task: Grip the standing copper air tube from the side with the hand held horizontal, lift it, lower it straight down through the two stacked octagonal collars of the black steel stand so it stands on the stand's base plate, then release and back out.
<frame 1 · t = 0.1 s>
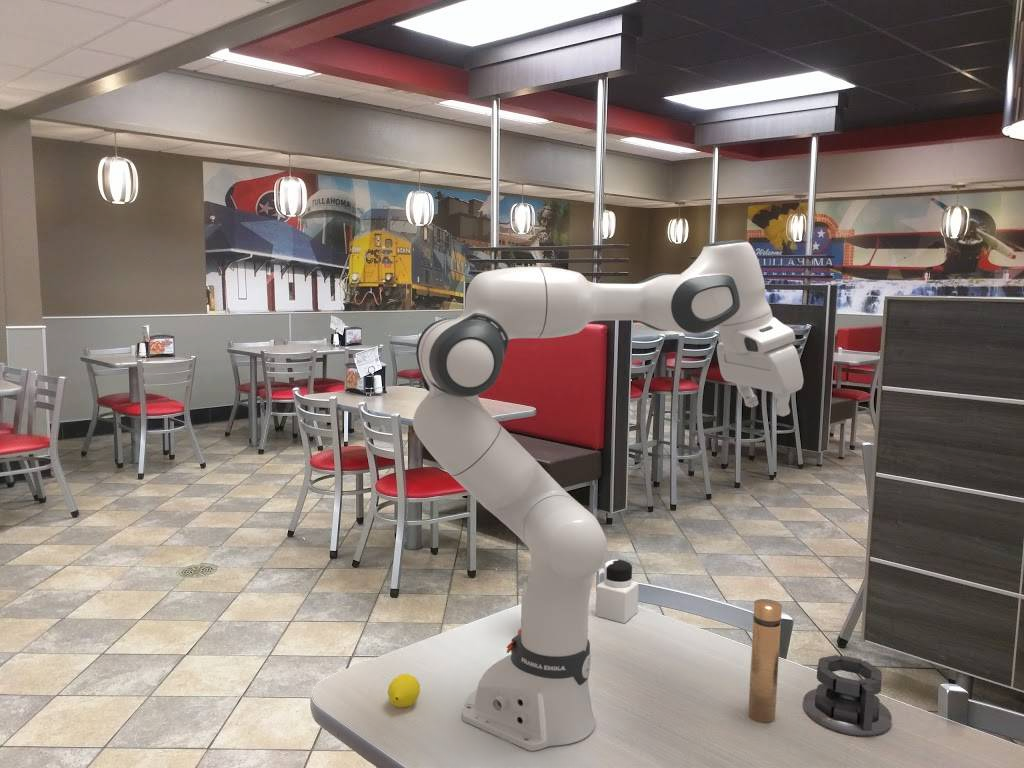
hand: (767, 410, 134), 52 cm above the table, tool tilted 20°, fingers open, 8 cm apart
paper tube: (546, 634, 165), on the table
air tube: (761, 715, 134), on the table
medicine bottle: (616, 615, 175), on the table
lemon: (404, 706, 136), on the table
collar stand: (846, 713, 135), on the table
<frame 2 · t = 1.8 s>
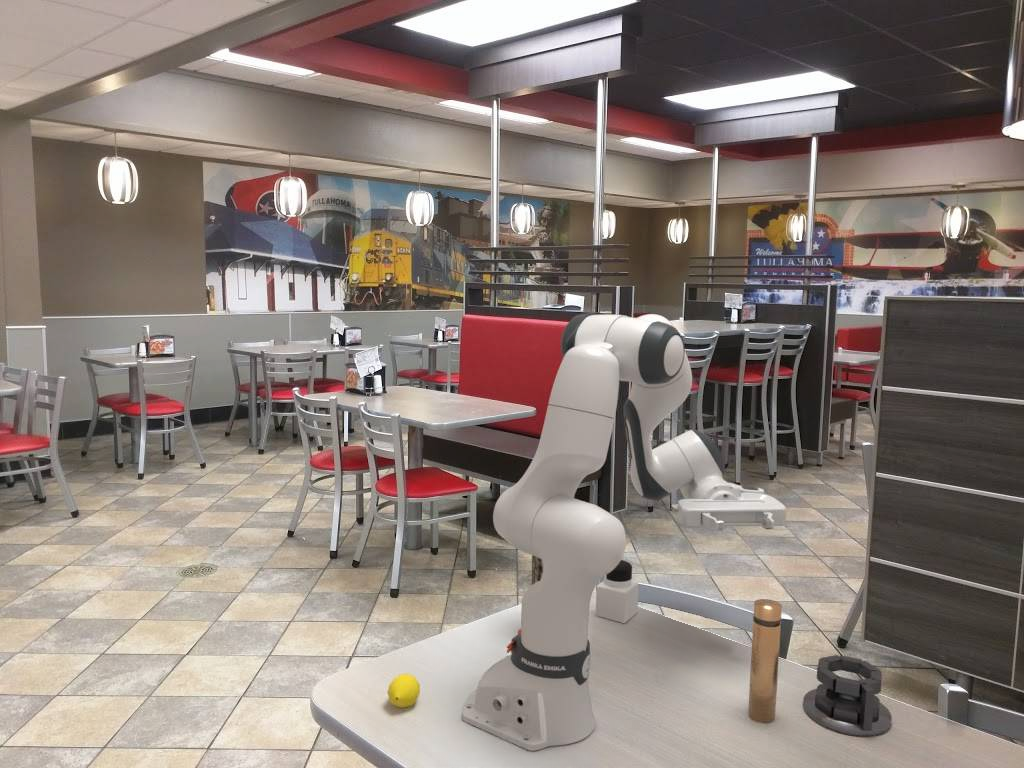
hand: (744, 525, 142), 30 cm above the table, tool horizontal, fingers open, 8 cm apart
nothing on the table moved.
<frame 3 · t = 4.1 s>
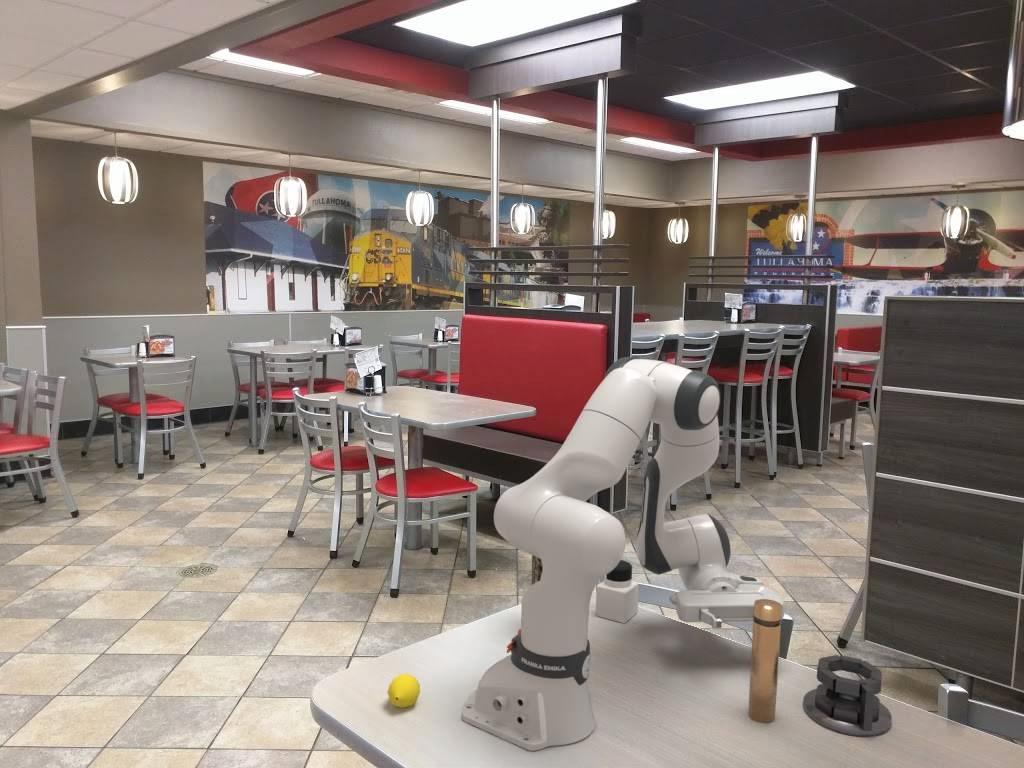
hand: (743, 624, 143), 12 cm above the table, tool horizontal, fingers open, 8 cm apart
nothing on the table moved.
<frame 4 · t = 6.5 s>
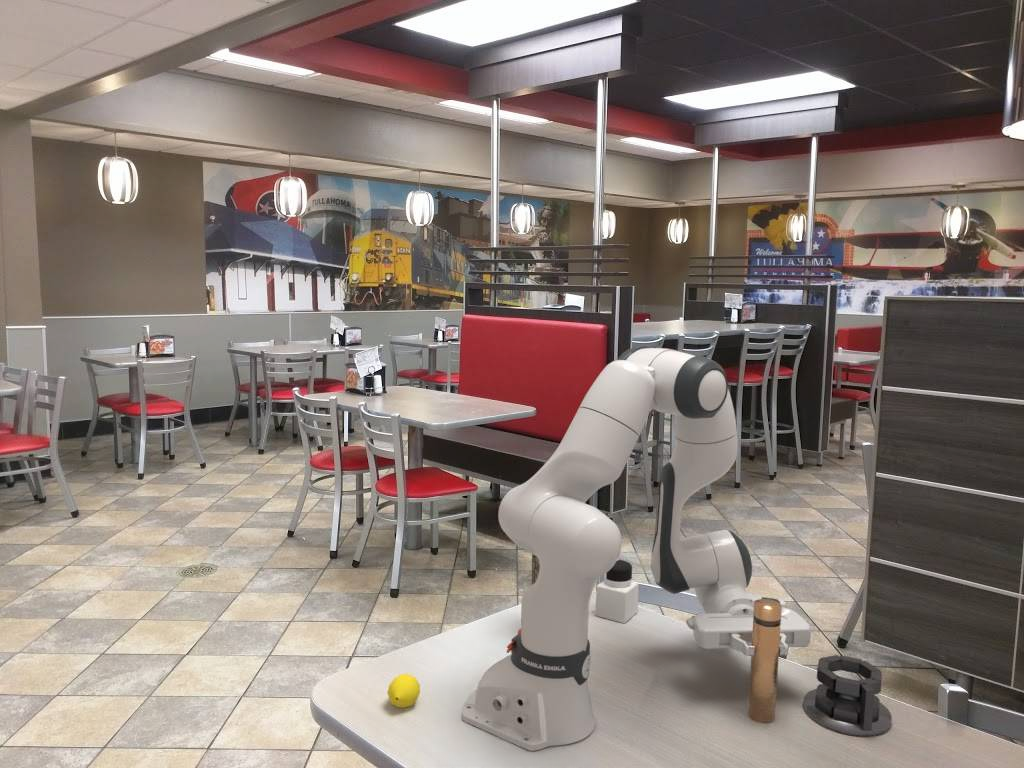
hand: (767, 651, 132), 12 cm above the table, tool horizontal, fingers closed on air tube, 4 cm apart
air tube: (761, 715, 134), on the table, touching gripper
everything else where it was.
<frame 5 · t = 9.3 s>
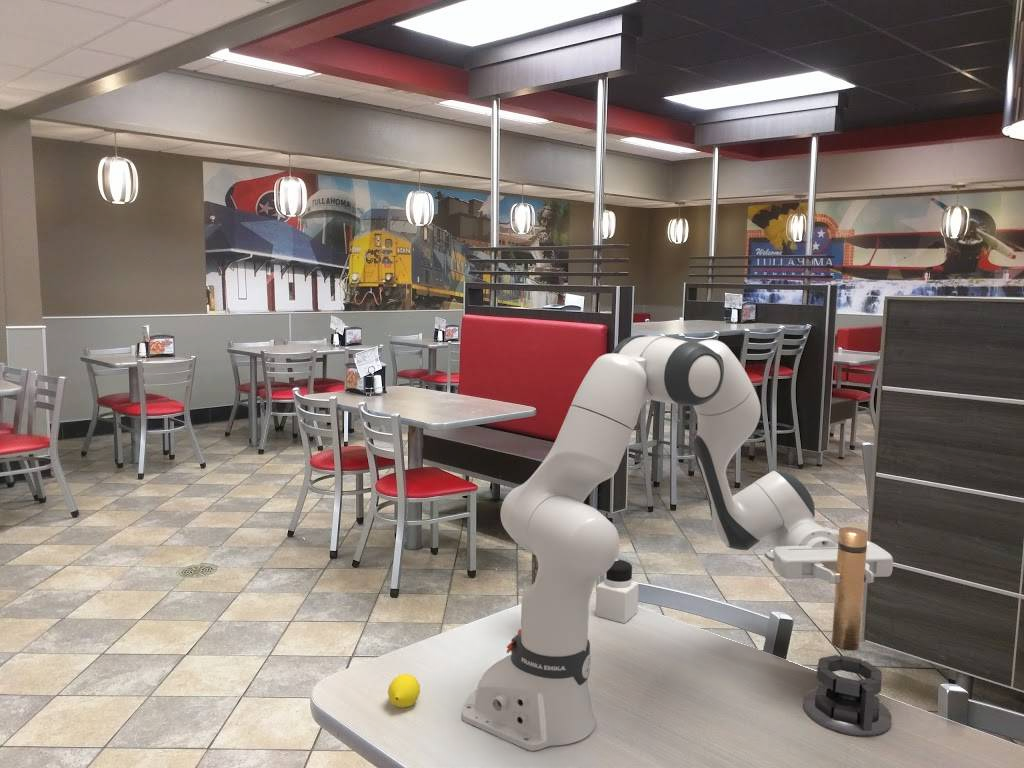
hand: (853, 579, 131), 24 cm above the table, tool horizontal, fingers closed on air tube, 4 cm apart
air tube: (845, 644, 134), point 12 cm above the table, touching gripper
everything else where it was.
when the fingers open (14 cm above the table, at t = 12.3 s): air tube stays where it is, resting on collar stand.
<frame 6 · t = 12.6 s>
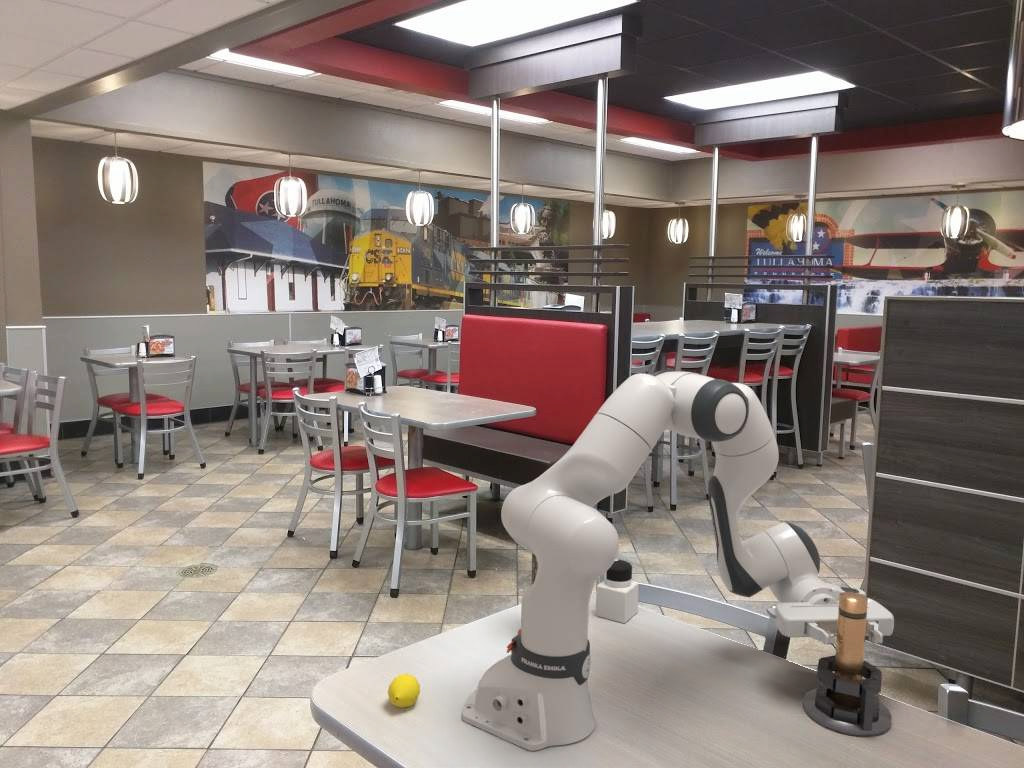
hand: (854, 640, 133), 14 cm above the table, tool horizontal, fingers open, 7 cm apart
air tube: (845, 707, 135), point 1 cm above the table, touching collar stand
everything else where it was.
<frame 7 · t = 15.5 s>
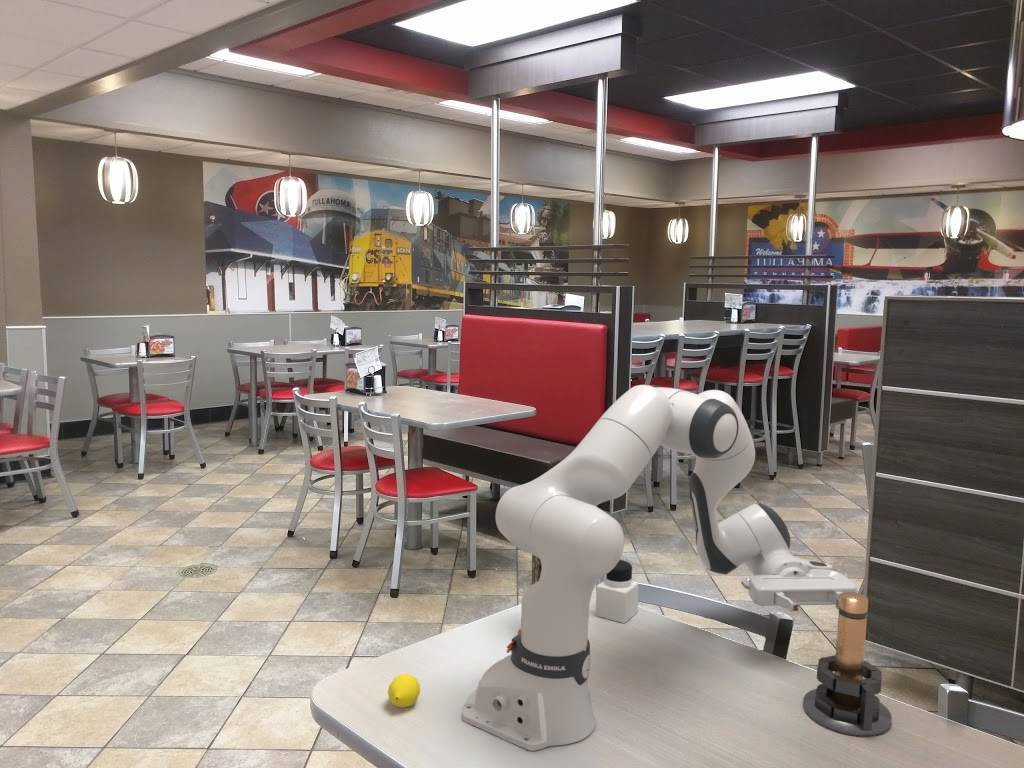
hand: (819, 607, 145), 14 cm above the table, tool horizontal, fingers open, 8 cm apart
nothing on the table moved.
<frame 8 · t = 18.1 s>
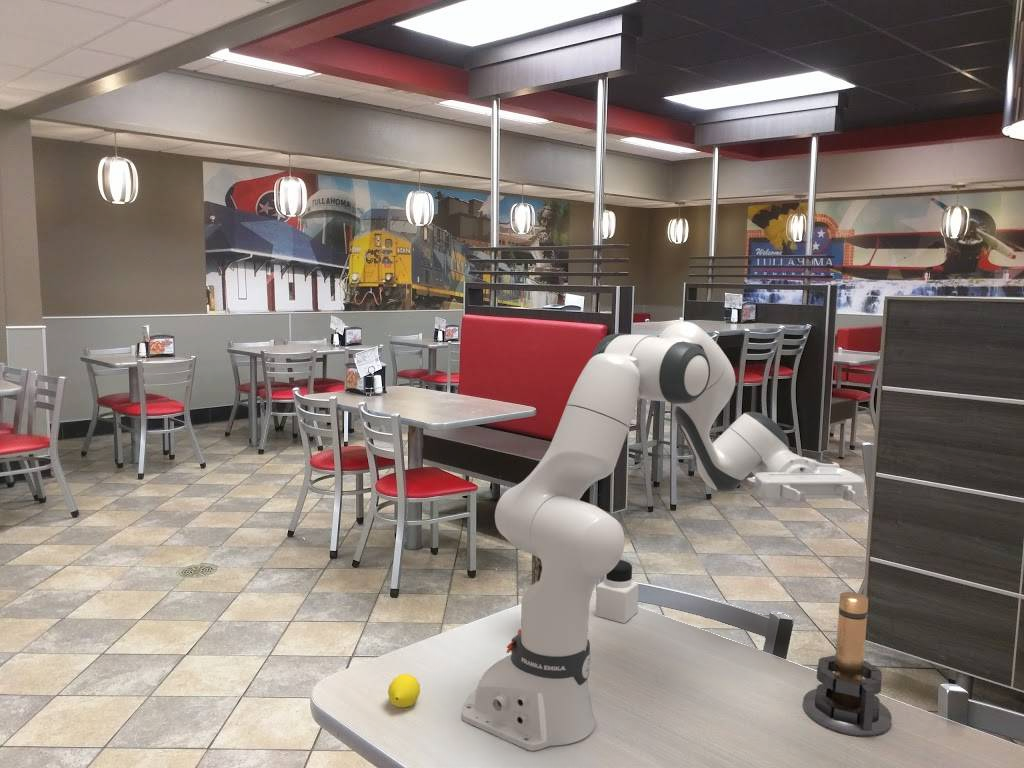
hand: (826, 497, 143), 35 cm above the table, tool horizontal, fingers open, 8 cm apart
nothing on the table moved.
at the end: air tube 0.1 cm off-centre on the collar stand, point 1.0 cm above the collar stand's base; air tube tilted 0°; the gripper is holding nothing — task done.
